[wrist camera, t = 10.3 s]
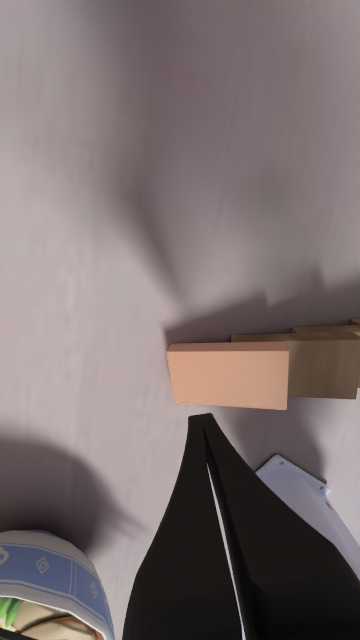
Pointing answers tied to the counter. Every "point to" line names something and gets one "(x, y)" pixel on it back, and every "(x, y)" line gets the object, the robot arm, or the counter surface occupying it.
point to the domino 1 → (318, 362)
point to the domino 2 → (340, 328)
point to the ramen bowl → (49, 590)
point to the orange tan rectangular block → (230, 374)
